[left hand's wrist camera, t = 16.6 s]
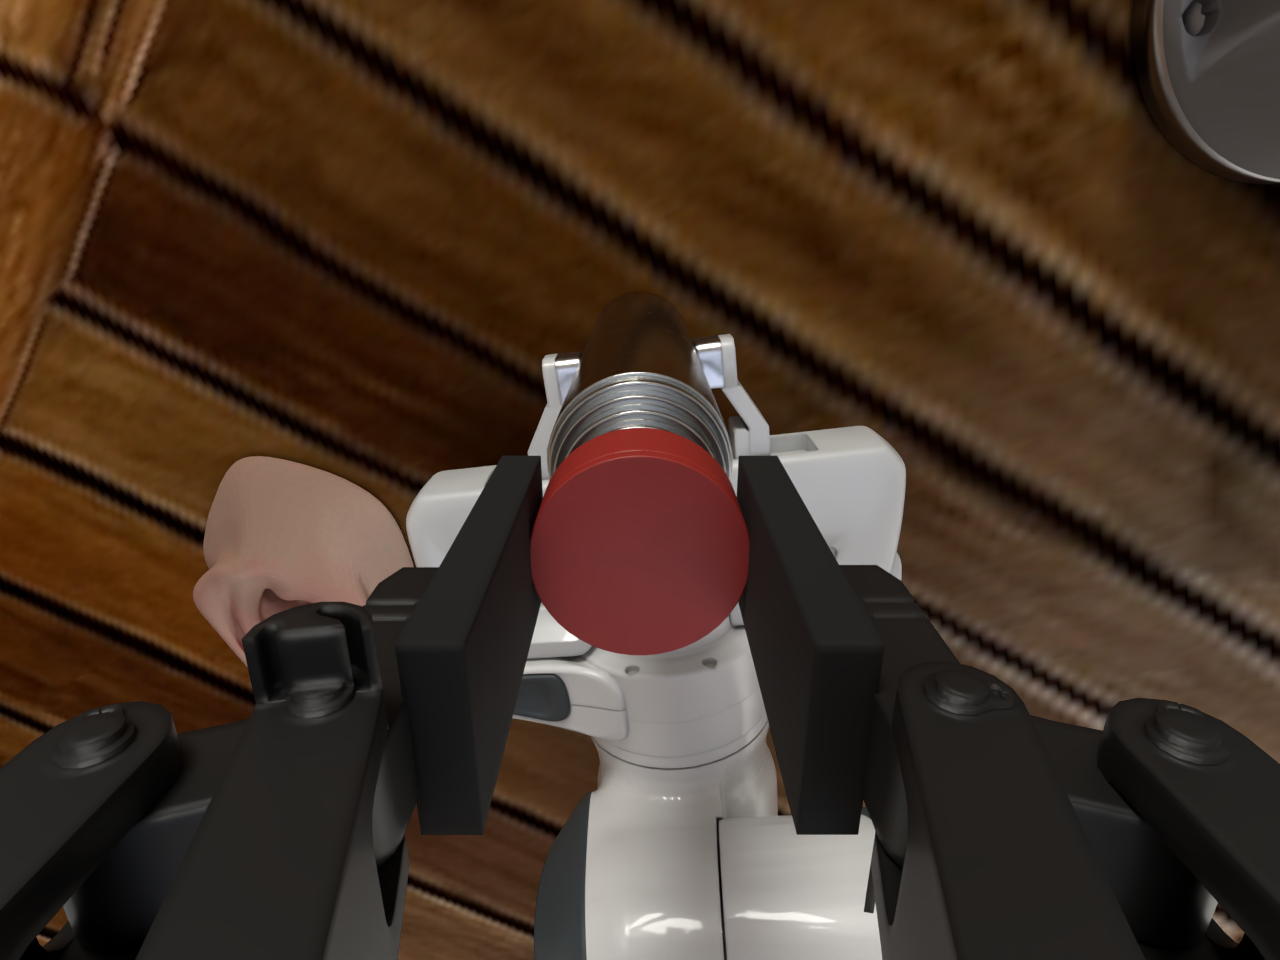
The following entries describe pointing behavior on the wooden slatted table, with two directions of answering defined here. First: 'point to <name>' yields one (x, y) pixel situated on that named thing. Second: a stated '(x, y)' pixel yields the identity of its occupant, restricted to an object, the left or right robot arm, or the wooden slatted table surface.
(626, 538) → the cap
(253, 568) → the anatomical model
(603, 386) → the bottle
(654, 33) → the wooden slatted table surface
